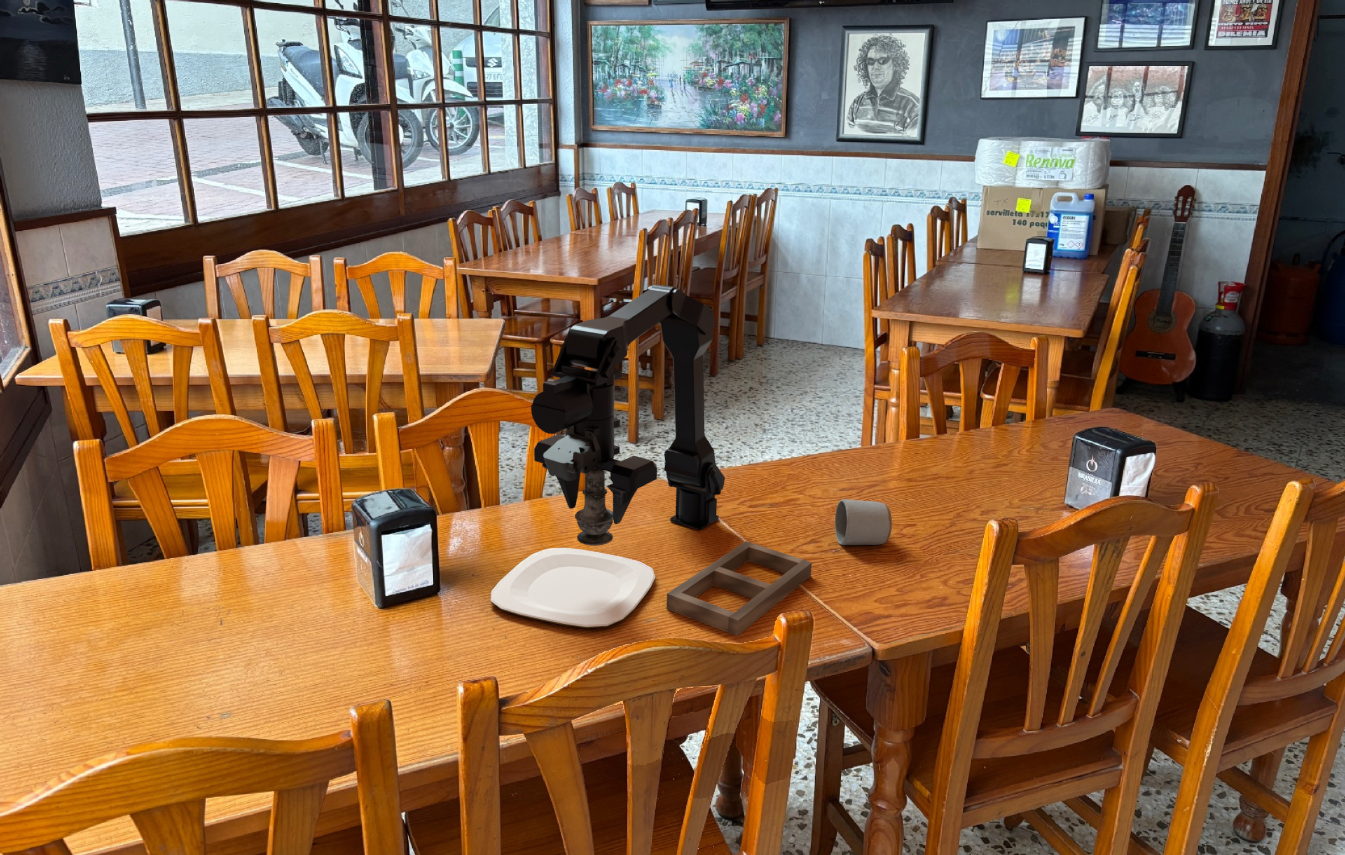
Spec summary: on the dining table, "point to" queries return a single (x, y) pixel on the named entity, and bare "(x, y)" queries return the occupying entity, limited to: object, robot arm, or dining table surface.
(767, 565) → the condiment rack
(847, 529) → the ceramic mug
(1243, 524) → the dining table surface
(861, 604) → the dining table surface
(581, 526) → the salt shaker
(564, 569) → the plate
